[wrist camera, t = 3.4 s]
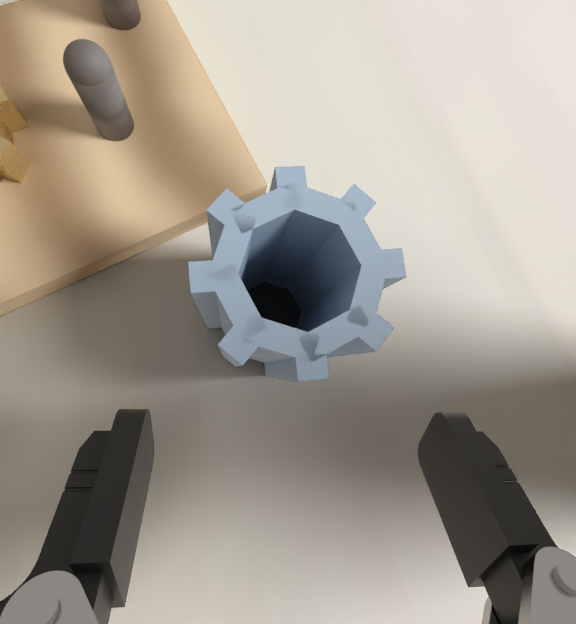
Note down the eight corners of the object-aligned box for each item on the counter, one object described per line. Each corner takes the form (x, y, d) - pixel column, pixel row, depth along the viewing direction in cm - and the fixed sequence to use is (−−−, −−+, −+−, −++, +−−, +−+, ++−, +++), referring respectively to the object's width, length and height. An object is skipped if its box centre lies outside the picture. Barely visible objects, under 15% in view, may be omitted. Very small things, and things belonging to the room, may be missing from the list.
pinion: (290, 240, 22) (340, 138, 12) (344, 339, 22) (439, 314, 12) (187, 289, 21) (152, 220, 11) (243, 395, 21) (256, 419, 11)
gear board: (150, -12, 23) (122, -154, 17) (264, 196, 22) (278, 129, 16) (-192, 96, 20) (-390, -32, 13) (-71, 348, 19) (-221, 338, 13)
